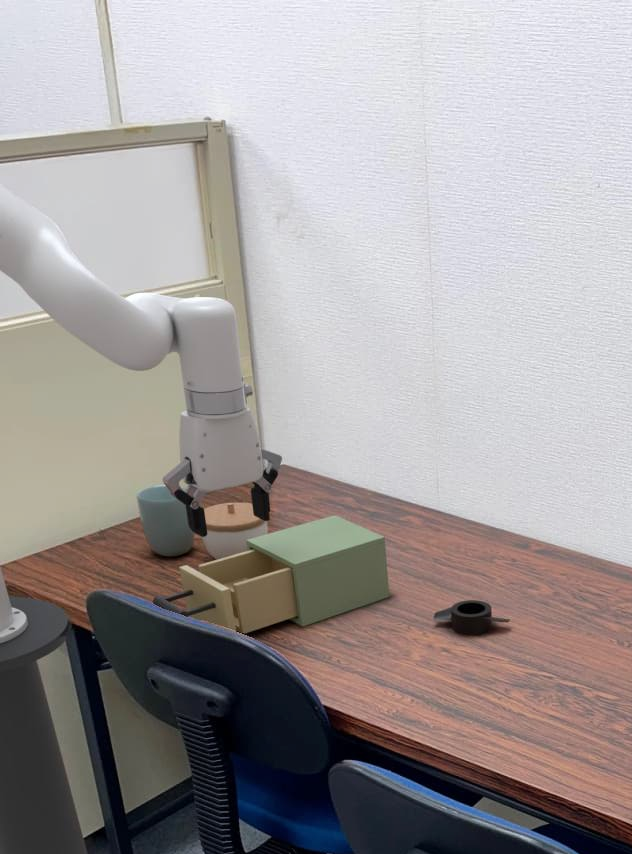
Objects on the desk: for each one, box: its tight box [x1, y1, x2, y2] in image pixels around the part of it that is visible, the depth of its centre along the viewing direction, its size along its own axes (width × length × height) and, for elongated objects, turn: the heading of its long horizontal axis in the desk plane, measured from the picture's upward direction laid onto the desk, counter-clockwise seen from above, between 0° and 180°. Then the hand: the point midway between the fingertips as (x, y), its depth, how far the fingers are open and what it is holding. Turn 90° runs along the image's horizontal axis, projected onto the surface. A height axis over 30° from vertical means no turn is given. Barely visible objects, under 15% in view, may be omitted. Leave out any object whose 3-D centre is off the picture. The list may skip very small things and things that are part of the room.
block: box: [223, 578, 248, 618], centre depth 170 cm, size 4×4×4 cm
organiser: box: [246, 514, 390, 628], centre depth 177 cm, size 16×13×10 cm
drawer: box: [152, 549, 298, 635], centre depth 168 cm, size 20×11×8 cm, turn 136°
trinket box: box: [200, 502, 269, 560], centre depth 190 cm, size 11×11×9 cm
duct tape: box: [433, 599, 511, 637], centre depth 172 cm, size 8×10×3 cm
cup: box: [136, 484, 196, 558], centre depth 192 cm, size 8×8×10 cm
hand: (231, 525), depth 164 cm, fingers open, 9 cm apart
